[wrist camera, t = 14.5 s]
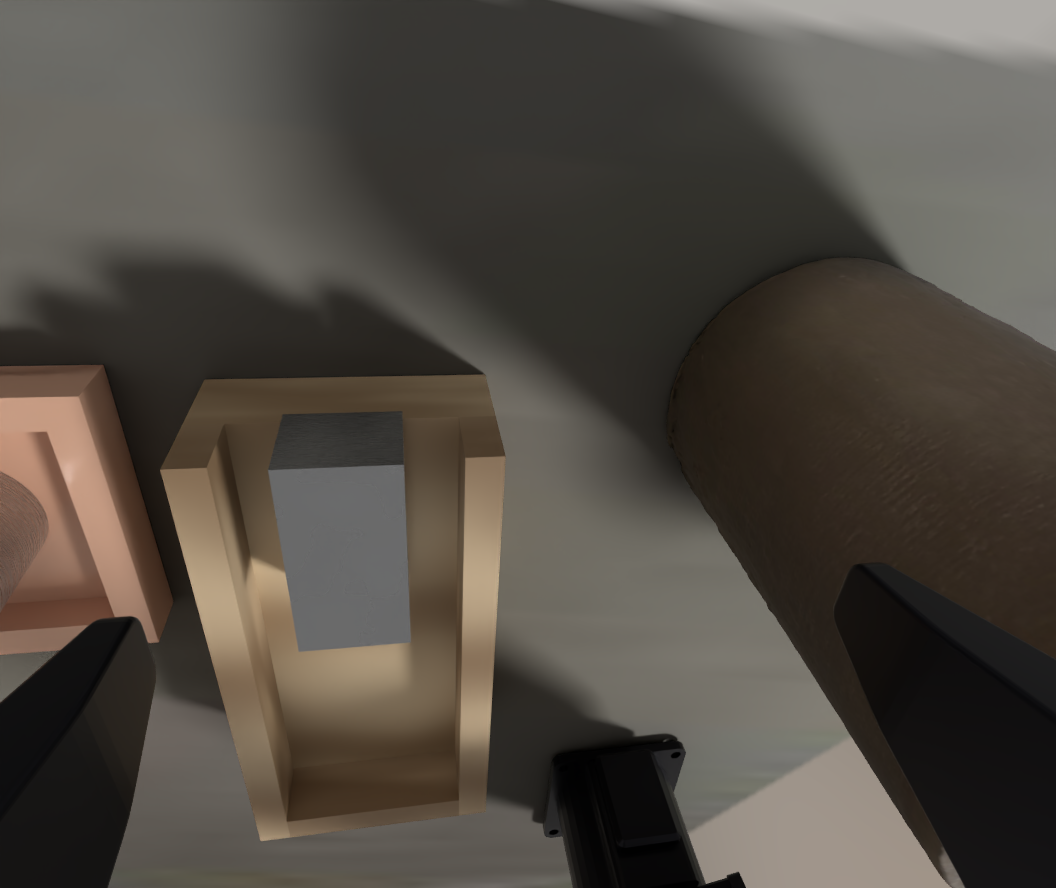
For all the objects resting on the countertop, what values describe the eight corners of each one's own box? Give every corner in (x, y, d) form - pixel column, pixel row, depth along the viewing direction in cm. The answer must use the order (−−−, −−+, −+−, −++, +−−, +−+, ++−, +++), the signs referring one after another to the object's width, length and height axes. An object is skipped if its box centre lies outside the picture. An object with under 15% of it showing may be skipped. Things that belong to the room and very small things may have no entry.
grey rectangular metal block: (408, 579, 21) (410, 642, 19) (308, 586, 21) (298, 651, 19) (402, 411, 18) (403, 464, 16) (282, 414, 17) (268, 470, 15)
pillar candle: (609, 448, 23) (868, 971, 11) (808, 188, 19) (1556, 539, 7) (800, 537, 27) (1145, 989, 15) (995, 336, 23) (1675, 723, 11)
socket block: (473, 708, 29) (485, 812, 26) (278, 728, 28) (260, 841, 24) (485, 374, 21) (505, 456, 17) (204, 379, 19) (159, 469, 16)
